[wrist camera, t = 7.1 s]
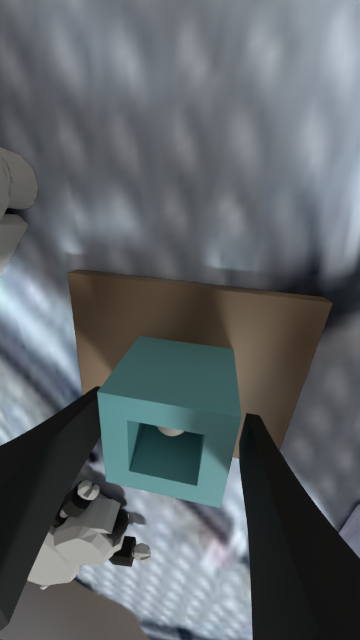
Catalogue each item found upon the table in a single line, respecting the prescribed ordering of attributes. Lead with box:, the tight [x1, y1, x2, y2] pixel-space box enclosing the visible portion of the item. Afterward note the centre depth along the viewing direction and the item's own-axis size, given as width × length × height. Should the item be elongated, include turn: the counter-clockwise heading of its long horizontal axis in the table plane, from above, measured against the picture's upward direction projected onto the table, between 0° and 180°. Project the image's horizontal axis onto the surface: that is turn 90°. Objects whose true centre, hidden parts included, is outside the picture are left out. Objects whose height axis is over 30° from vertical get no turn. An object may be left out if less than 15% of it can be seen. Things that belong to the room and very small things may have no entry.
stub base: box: [68, 270, 333, 458], centre depth 13 cm, size 14×12×5 cm
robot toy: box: [27, 480, 151, 589], centre depth 22 cm, size 12×4×15 cm
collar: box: [97, 336, 242, 508], centre depth 12 cm, size 6×6×5 cm
